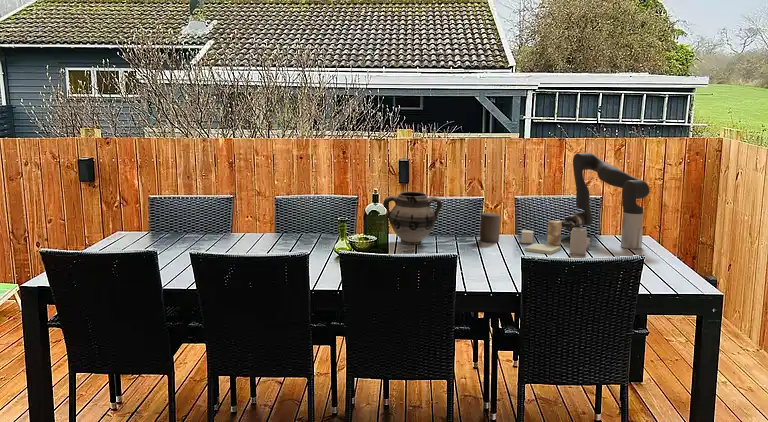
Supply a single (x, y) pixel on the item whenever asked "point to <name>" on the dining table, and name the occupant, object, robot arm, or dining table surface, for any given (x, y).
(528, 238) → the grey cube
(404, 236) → the ceramic pot
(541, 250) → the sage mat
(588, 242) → the steel puck
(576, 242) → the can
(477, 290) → the dining table surface
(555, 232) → the oak block
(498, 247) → the dining table surface
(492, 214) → the pillar candle
